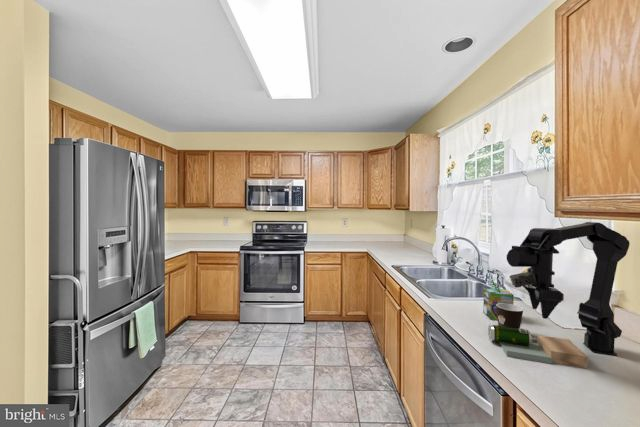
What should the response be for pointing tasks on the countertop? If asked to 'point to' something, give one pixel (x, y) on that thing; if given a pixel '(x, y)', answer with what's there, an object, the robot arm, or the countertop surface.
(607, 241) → the robot arm
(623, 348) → the countertop surface
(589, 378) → the countertop surface
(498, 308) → the coffee mug
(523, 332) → the beer can
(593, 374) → the countertop surface
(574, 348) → the tan block
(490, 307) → the chalk box
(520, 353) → the grey-green tray
